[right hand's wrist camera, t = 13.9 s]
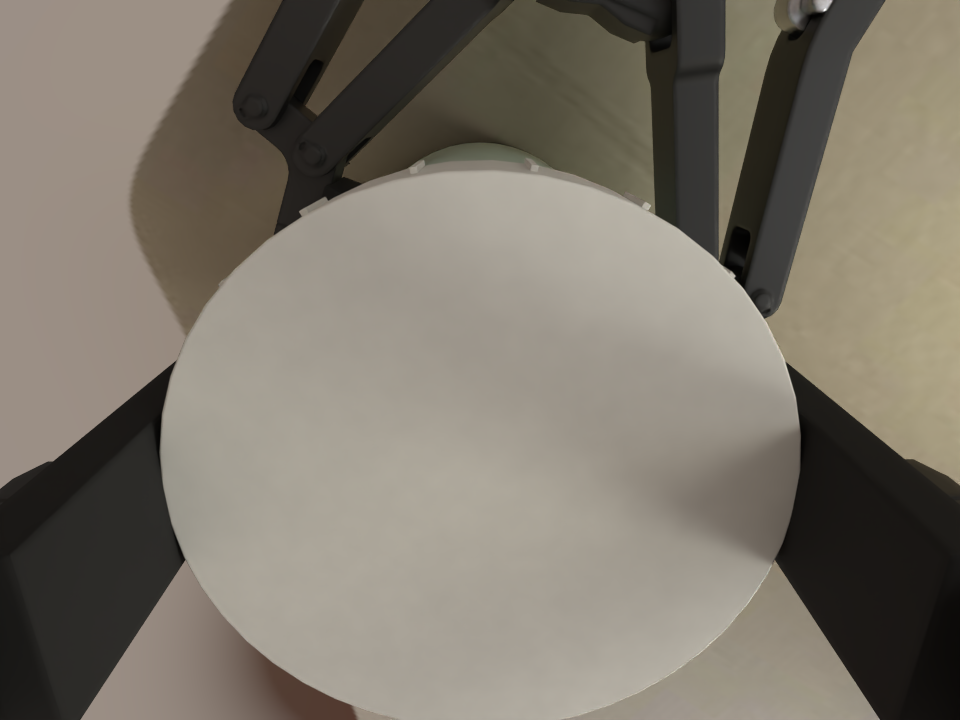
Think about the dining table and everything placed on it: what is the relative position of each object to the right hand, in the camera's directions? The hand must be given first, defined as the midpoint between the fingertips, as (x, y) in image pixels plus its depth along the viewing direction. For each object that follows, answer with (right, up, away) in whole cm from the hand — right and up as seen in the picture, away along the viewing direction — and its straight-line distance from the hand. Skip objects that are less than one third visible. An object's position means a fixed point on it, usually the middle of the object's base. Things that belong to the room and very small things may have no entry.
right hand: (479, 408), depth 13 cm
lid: (0, -1, -3) cm, 3 cm away
